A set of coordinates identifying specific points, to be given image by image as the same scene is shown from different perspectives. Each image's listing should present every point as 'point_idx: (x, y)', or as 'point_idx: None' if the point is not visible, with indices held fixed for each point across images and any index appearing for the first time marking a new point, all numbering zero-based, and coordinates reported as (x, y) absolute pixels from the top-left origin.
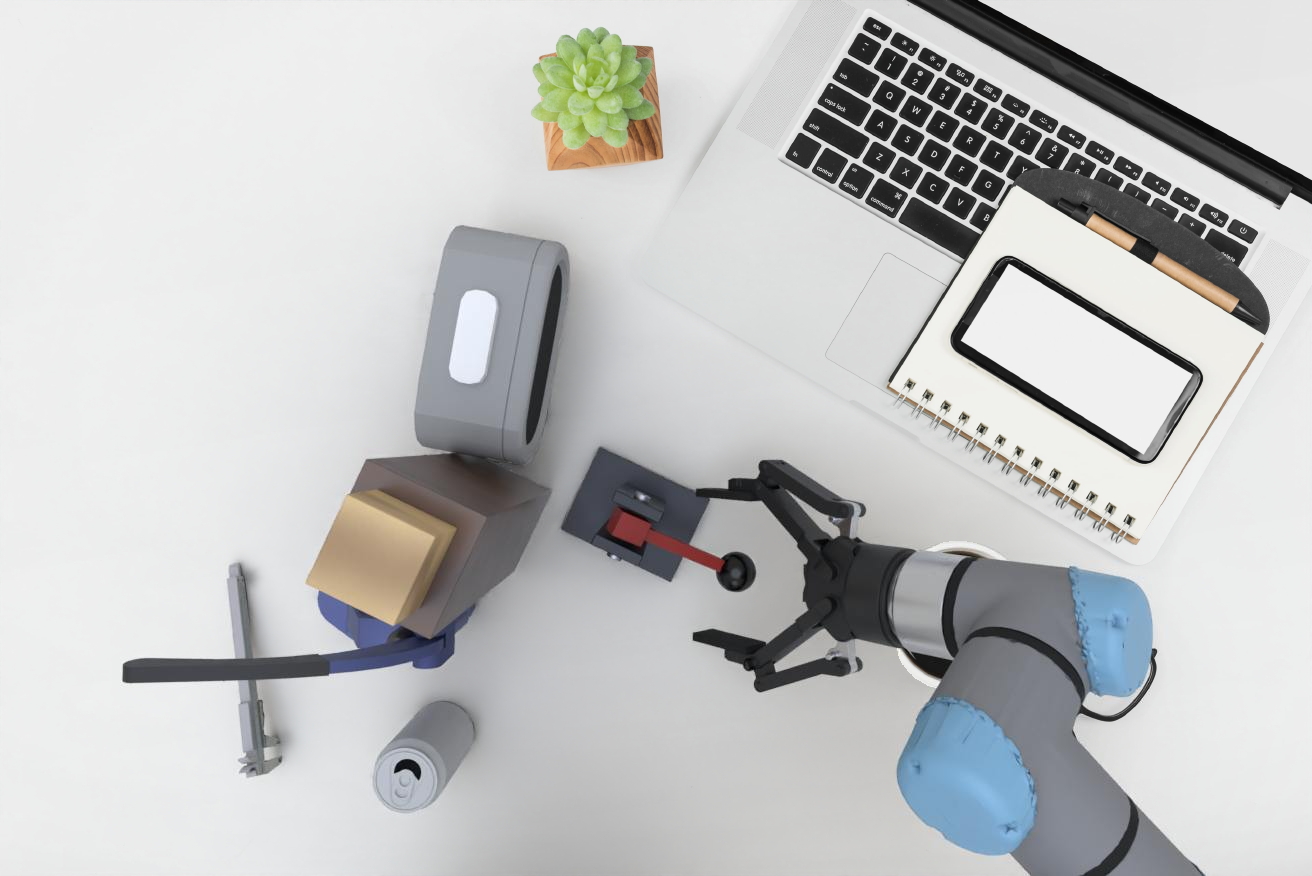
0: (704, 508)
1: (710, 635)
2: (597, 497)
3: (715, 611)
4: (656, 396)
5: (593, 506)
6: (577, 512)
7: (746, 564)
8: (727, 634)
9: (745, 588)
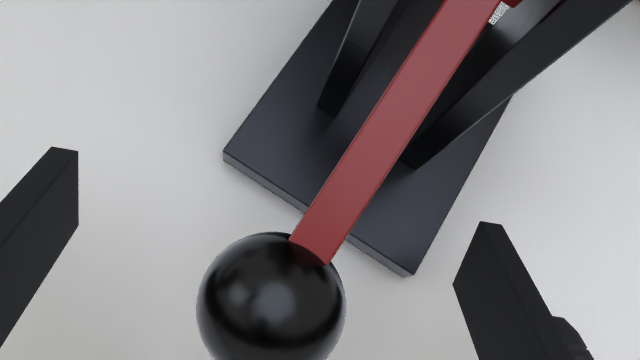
0: (393, 258)
1: (53, 196)
2: None
3: (123, 256)
4: (619, 191)
5: (415, 17)
6: None
7: (311, 347)
8: (44, 257)
9: (211, 333)
